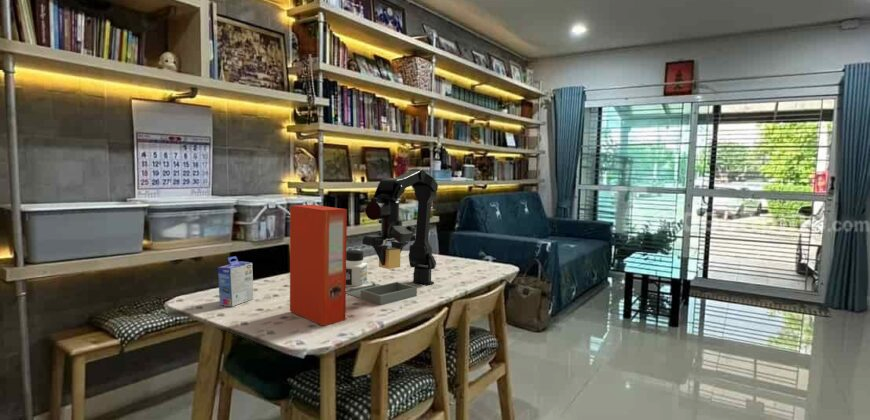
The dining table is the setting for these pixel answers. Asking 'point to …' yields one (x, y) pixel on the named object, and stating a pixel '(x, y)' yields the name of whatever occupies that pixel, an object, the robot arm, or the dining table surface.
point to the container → (355, 268)
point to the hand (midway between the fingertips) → (389, 264)
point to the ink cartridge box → (235, 282)
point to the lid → (359, 289)
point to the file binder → (318, 263)
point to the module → (391, 258)
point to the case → (388, 293)
